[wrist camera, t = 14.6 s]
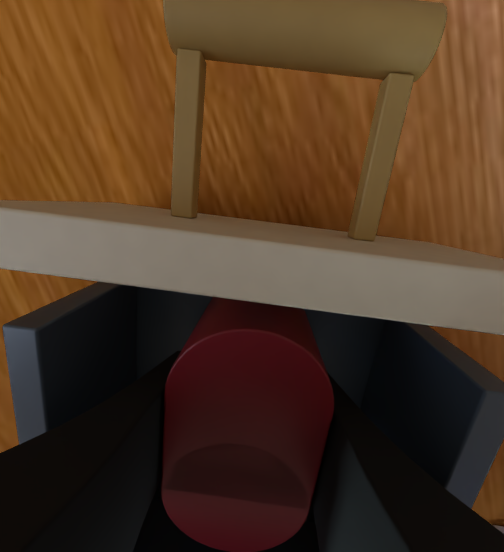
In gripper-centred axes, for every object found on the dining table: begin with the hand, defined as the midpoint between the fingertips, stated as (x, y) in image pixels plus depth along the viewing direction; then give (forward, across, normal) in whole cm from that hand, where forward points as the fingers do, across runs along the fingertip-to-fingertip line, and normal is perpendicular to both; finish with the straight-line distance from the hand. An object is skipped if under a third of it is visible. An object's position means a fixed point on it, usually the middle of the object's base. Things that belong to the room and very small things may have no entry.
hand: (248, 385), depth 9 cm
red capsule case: (+1, 0, 0) cm, 1 cm away
